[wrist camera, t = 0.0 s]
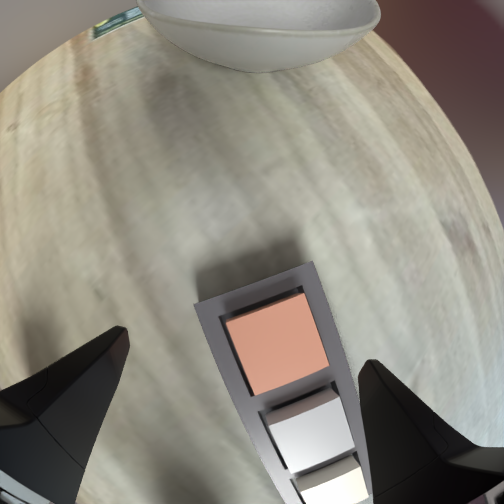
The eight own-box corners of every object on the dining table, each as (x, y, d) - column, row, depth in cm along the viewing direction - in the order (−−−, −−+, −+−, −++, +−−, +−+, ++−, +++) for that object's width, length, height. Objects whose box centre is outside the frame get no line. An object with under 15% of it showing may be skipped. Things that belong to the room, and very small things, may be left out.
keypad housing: (369, 476, 22) (380, 489, 18) (293, 508, 20) (298, 524, 17) (302, 264, 25) (312, 260, 22) (198, 302, 24) (193, 304, 21)
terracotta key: (320, 358, 21) (329, 365, 19) (252, 385, 20) (255, 395, 18) (296, 293, 22) (304, 293, 19) (226, 319, 21) (225, 322, 19)
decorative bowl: (363, 41, 31) (389, -10, 19) (315, 154, 27) (359, 78, 15) (217, -4, 31) (217, -54, 19) (116, 84, 27) (85, 19, 15)
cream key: (360, 486, 19) (368, 497, 17) (310, 507, 18) (315, 520, 16) (351, 454, 20) (360, 466, 17) (295, 478, 19) (300, 492, 17)
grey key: (345, 435, 20) (354, 446, 18) (286, 460, 19) (290, 473, 17) (330, 387, 21) (339, 396, 18) (265, 413, 20) (268, 426, 18)
